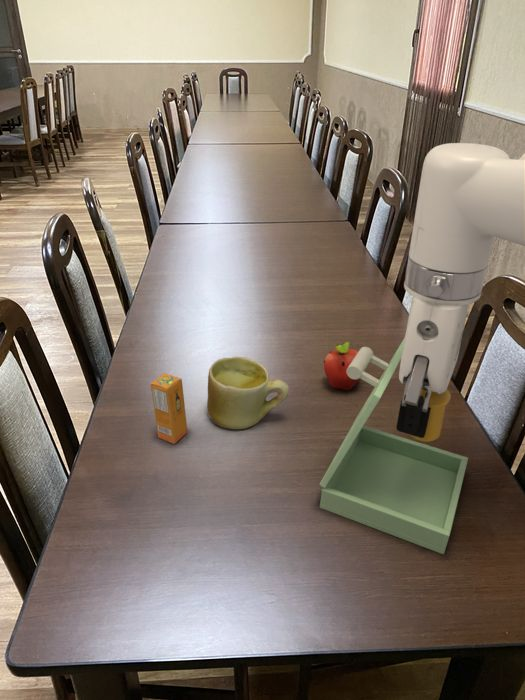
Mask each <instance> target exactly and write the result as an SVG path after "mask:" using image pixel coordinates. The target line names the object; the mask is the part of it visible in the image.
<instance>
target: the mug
mask: <svg viewBox="0 0 525 700" xmlns="http://www.w3.org/2000/svg"><path fill="white" fill-rule="evenodd" d="M289 392H290V387H289V384H287V383H286V382H285V381H284V380H281V379H272V380H271V379H270V374H269V371H268V369H266V367H265V366H264V365H263V364H262V363H260V362H258V361H256V360H255V359H252V358H248V357H245V356H232V357H223V358H218V359H217V360H216V361H214V362H213V363H212V364H211V366H210V367H209V369H208V374H207V400H206V401H207V405H206V410H207V415H208V416H209V418H210V419H211V421H213V422H214V424H215V425H217V426H218V427H220V428H224V429H231V430H245V429H248V428H251V427H253V426H255V425H256V424H258V423H259V422H260V421H261V420H262V419H263V418H265V416H266V415H267V413H268V412H270V410H272V409H274V408H275V407H277V406H278V405H280V404H281V403H283V401H285V400H286V398H287V396H289ZM274 393H276V394H277V395H276V396H274V397H272V398H271V399H269V400H267V397H268V396H269V395H270V394H274Z"/></svg>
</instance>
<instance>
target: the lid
mask: <svg viewBox="0 0 525 700" xmlns="http://www.w3.org/2000/svg"><path fill="white" fill-rule="evenodd" d="M404 339H405V337H404V338H403V339H402V340H401V342H400V344H399V346H398V348H397V350H396V351H395V353H394V354H393V356H392V358H391V359H390V361H389V362H386V361H385V360H382V359H380V358H379V357H377V356H376V355H374V351H373V350H372V348H370V347H368V346H362V347H361V348H359V350H358V353H357V355H356V356H355V358H354V359H353V361H352V362H351V364H350V365H349V367H348V368H347V371H346V372H347V375H348V376H349V377H350V378H351V379H359V378H360V379H359V380H362V381H364V382H366V383H367V384H369V385H371V386H373V388H372V391H371V393H370V394H369V395H368V398H367V399H366V401H365V403H364V404H363V406H362V407H361V410H359V413H358V414H357V416H356V418H355V419H354V421H353V423H352V425H351V427H349V428H350V429H349V430H348V432H347V434H346V435H345V437H344V439H343V441H342V443H341V445H340V446H339V448H338V450H337V452H336V454H335V455H334V457H333V459H332V460H331V463H329V464H330V465H329V466H328V468H327V470H326V472H325V473H324V475H323V477H322V479H321V481H320V482H319V486H320V487H322V488H323V487H324V488H325V487H326V485H327V484H328V482H329V481H330V479H331V477H332V476H333V474H334V473H335V471H336V469H337V468H338V466H339V465H340V463H341V461H342V460H343V458H344V456H345V455H346V453H347V452H348V450H349V448H350V447H351V445H352V444H353V442H354V440H355V439H356V437H357V435H358V434H359V432H360V431H361V429H362V427H363V426H365V424H366V423H367V421H368V420H369V418H370V416H371V414H372V413H373V411H374V410H375V408H376V407H377V405H378V403H379V402H380V400H381V398H382V397H383V394H384V393H385V390H386V389H387V387H388V385H389V383H390V382H391V379H392V378H393V376H394V374H395V371H396V370H397V367H398V366H399V365H400V363H401V357H402V351H403V345H404ZM370 363H371V364H372V365H374V366H377V367H378V368H380V369H381V370H383V373H382V374H381V376H380V378H379V379H378V378H376V377H375V376H373V375H371V374H369V373H368V372H366V371H365V370H366V369H367V368H368V366H369V364H370Z"/></svg>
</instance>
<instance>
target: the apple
mask: <svg viewBox="0 0 525 700" xmlns="http://www.w3.org/2000/svg"><path fill="white" fill-rule="evenodd" d="M334 349H335V350H332V351H329V353H328V354H327V355H326V356H325V359H324V360H323V369H324V374H325V376H326V378H327V381H328V383H329V384H330V385H331V387H332V388H334V389H338V390H342V391H350V390H351V389H352V388H353V387H354V386H355V385H356V384H357V382H358V381H359V380H361V379H360V378H359V379H351V378H350V377H349V376H348V375H347V372H346V371H347V368H348V367H349V365H350V364H351V362H352V361H353V359H354V358H355V356H356V355H357V353H358V352H359V350H356V349H353V348H350V341H346V342H343V343H340V344H336V345H335V347H334Z"/></svg>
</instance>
